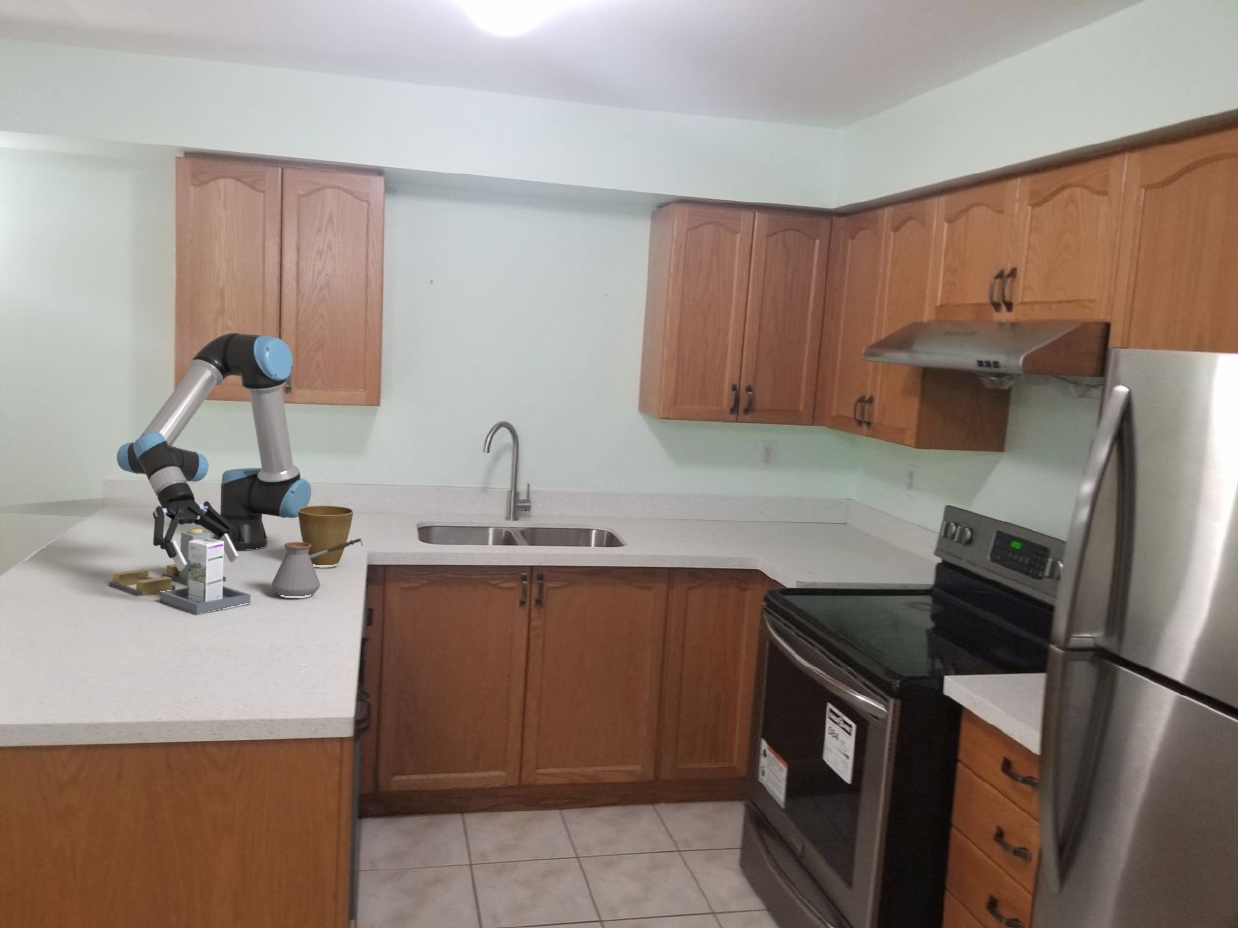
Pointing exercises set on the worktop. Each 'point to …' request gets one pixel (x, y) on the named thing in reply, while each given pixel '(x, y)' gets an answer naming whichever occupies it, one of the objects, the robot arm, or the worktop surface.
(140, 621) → the worktop surface
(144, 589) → the tan block holder
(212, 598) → the syrup box
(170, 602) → the tray
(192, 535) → the grey block
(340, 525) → the plant pot
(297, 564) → the coffee pot
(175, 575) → the clips
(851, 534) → the worktop surface
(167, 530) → the robot arm
